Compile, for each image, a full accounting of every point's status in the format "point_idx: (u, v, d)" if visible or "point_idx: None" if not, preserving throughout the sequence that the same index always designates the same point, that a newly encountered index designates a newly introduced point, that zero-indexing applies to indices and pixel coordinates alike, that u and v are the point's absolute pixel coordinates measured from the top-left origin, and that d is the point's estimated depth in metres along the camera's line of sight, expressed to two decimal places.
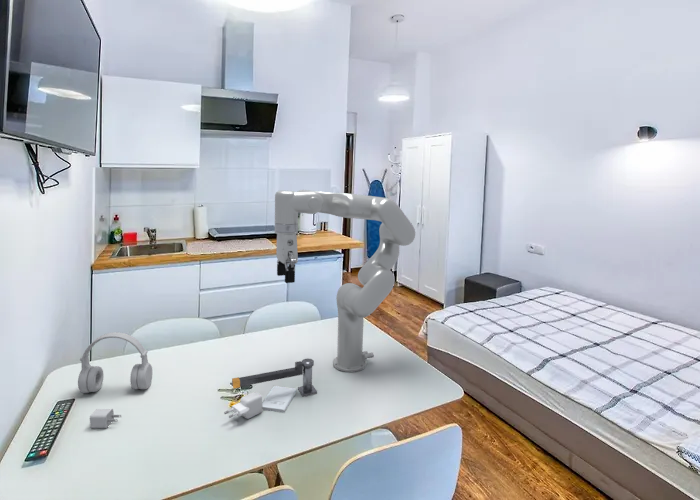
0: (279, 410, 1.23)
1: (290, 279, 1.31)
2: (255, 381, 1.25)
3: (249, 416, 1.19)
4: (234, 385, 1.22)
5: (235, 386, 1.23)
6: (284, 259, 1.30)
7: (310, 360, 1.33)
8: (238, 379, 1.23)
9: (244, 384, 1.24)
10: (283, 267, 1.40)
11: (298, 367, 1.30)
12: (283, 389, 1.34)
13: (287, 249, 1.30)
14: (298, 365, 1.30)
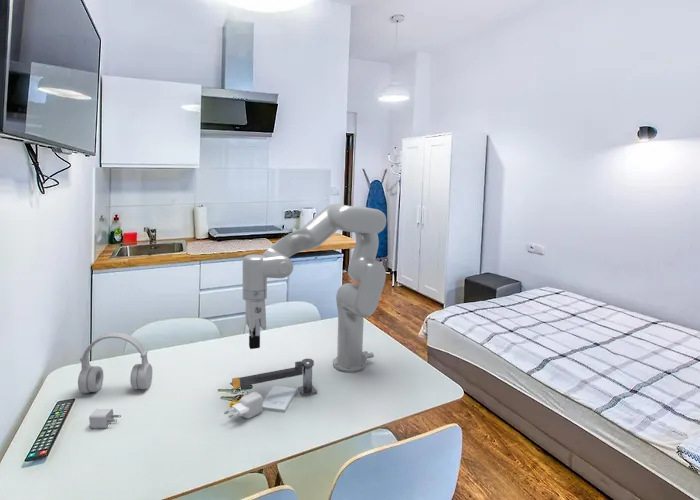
0: (279, 410, 1.23)
1: (255, 345, 1.31)
2: (255, 381, 1.25)
3: (249, 416, 1.19)
4: (234, 385, 1.22)
5: (235, 386, 1.23)
6: (252, 327, 1.26)
7: (310, 360, 1.33)
8: (238, 379, 1.23)
9: (244, 384, 1.24)
10: None
11: (298, 367, 1.30)
12: (283, 389, 1.34)
13: (255, 317, 1.25)
14: (298, 365, 1.30)
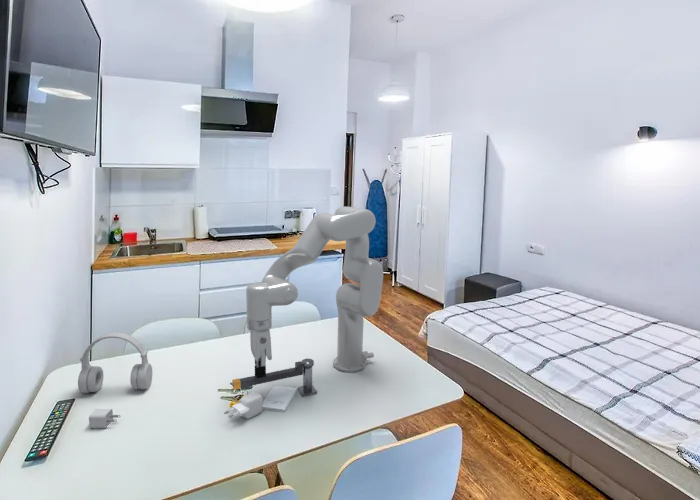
0: (279, 410, 1.23)
1: None
2: (256, 382, 1.25)
3: (249, 416, 1.19)
4: (235, 386, 1.22)
5: (236, 387, 1.22)
6: (257, 358, 1.22)
7: (310, 360, 1.33)
8: (238, 380, 1.23)
9: (245, 385, 1.23)
10: None
11: (298, 367, 1.30)
12: (283, 389, 1.34)
13: (260, 347, 1.22)
14: (298, 365, 1.30)
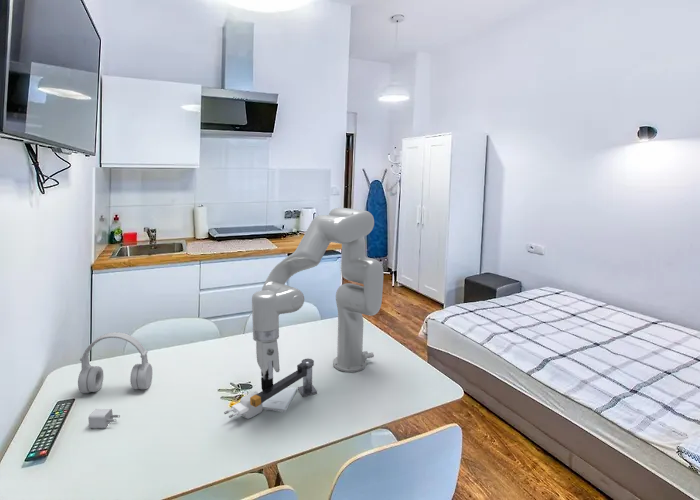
0: (279, 410, 1.23)
1: None
2: (272, 393, 1.18)
3: (249, 416, 1.19)
4: (256, 403, 1.13)
5: (257, 404, 1.14)
6: (264, 370, 1.16)
7: (309, 360, 1.33)
8: (258, 396, 1.15)
9: (264, 399, 1.16)
10: None
11: (303, 369, 1.29)
12: (283, 389, 1.34)
13: (267, 359, 1.15)
14: (303, 367, 1.29)
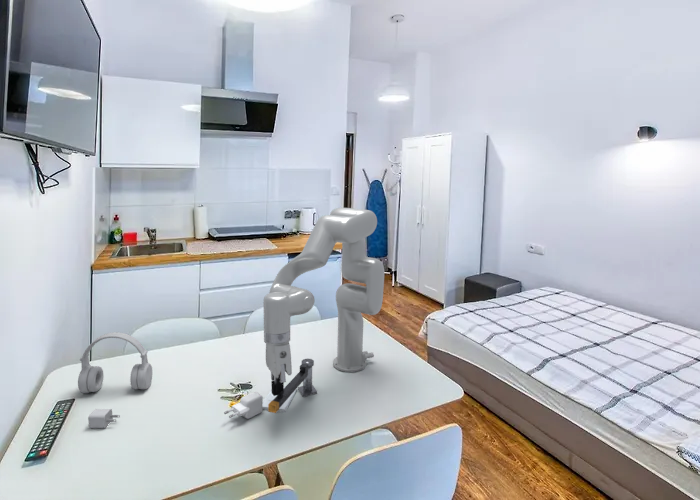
0: (279, 410, 1.23)
1: (279, 392, 1.19)
2: (286, 397, 1.17)
3: (249, 416, 1.19)
4: (276, 409, 1.11)
5: (276, 410, 1.11)
6: (276, 373, 1.14)
7: (308, 360, 1.33)
8: (275, 402, 1.12)
9: (280, 404, 1.14)
10: None
11: (306, 369, 1.29)
12: None
13: (280, 362, 1.13)
14: (306, 367, 1.29)
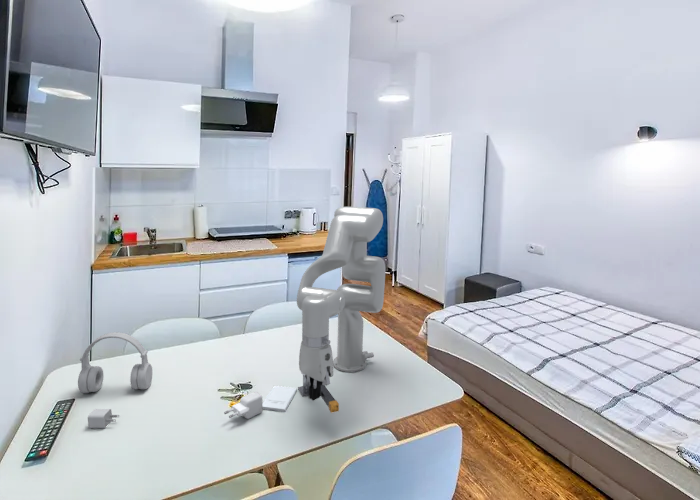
0: (280, 410, 1.23)
1: (318, 395, 1.17)
2: None
3: (249, 416, 1.19)
4: None
5: None
6: (322, 377, 1.12)
7: None
8: (333, 401, 1.13)
9: None
10: None
11: None
12: (283, 389, 1.34)
13: (325, 365, 1.12)
14: None
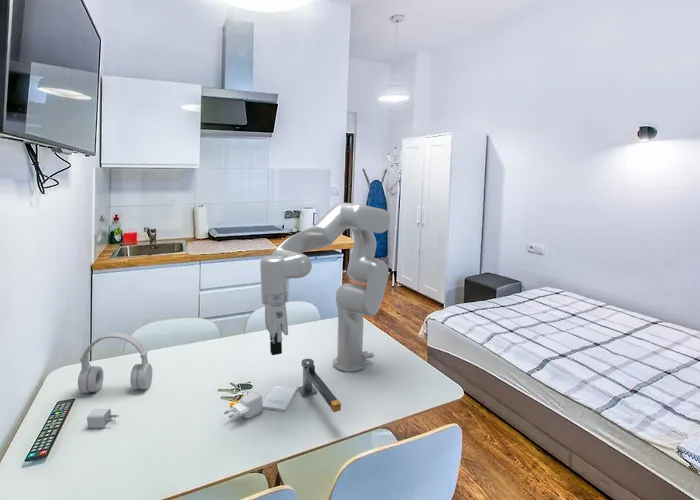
0: (280, 409, 1.23)
1: (277, 351, 1.24)
2: None
3: (249, 416, 1.19)
4: None
5: None
6: (273, 333, 1.19)
7: (306, 360, 1.33)
8: (335, 400, 1.13)
9: None
10: None
11: None
12: (283, 389, 1.34)
13: (276, 322, 1.18)
14: None
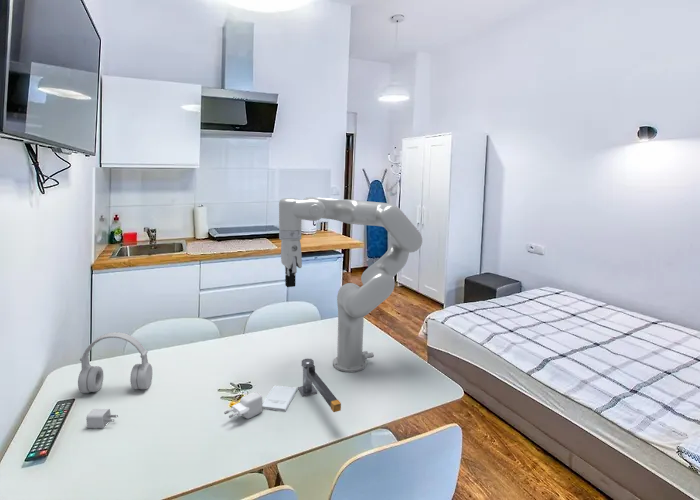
0: (280, 409, 1.23)
1: (291, 283, 1.41)
2: None
3: (249, 416, 1.19)
4: None
5: None
6: (289, 264, 1.36)
7: (306, 360, 1.33)
8: (335, 400, 1.13)
9: None
10: None
11: None
12: (284, 388, 1.34)
13: (291, 254, 1.35)
14: None
